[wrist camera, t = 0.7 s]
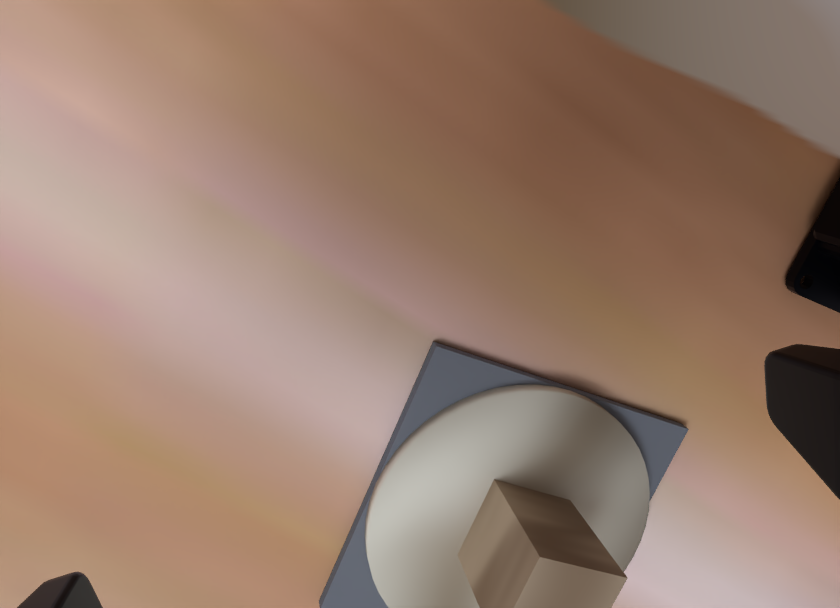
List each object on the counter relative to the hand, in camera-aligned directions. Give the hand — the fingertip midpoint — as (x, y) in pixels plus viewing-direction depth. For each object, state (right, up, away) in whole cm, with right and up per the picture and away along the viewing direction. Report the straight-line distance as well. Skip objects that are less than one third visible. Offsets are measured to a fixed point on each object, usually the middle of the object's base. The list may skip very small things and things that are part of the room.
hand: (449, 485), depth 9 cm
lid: (+3, -5, +16) cm, 17 cm away
